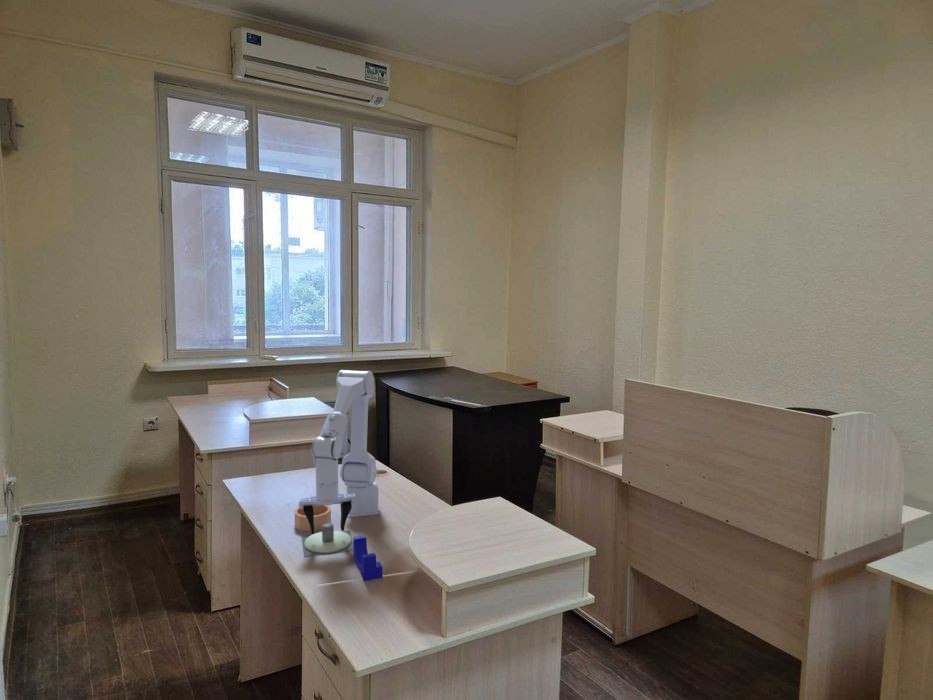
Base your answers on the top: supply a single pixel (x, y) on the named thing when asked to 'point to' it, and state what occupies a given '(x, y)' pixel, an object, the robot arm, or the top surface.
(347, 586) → the top surface
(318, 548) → the lid
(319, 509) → the bowl
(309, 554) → the mat
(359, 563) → the blue stepped bracket
